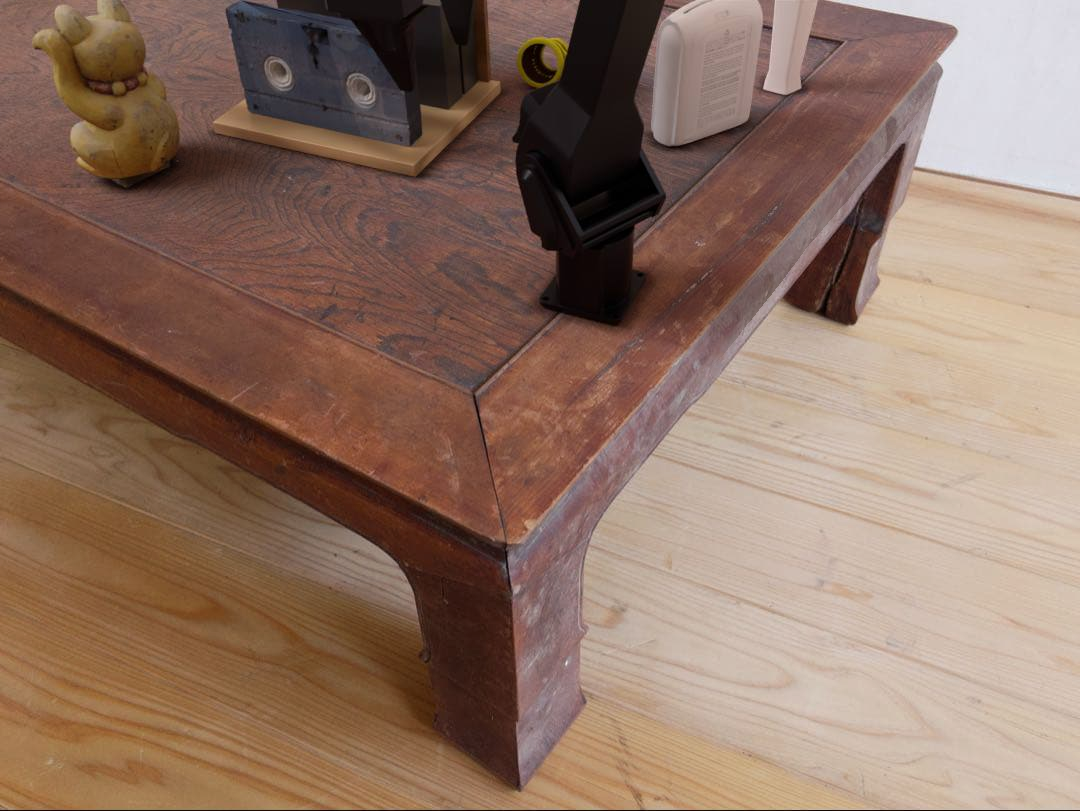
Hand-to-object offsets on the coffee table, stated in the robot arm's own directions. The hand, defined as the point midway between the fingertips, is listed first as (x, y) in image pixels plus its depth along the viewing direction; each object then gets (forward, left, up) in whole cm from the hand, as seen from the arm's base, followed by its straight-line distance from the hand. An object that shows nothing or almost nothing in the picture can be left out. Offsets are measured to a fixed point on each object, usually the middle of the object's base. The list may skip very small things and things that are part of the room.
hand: (435, 66), depth 77 cm
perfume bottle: (+32, -22, -12) cm, 40 cm away
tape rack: (+11, +15, -12) cm, 22 cm away
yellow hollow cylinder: (+24, -2, -12) cm, 27 cm away
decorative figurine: (-6, +28, -12) cm, 31 cm away
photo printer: (+20, -17, -12) cm, 29 cm away
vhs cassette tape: (+6, +15, -11) cm, 19 cm away
